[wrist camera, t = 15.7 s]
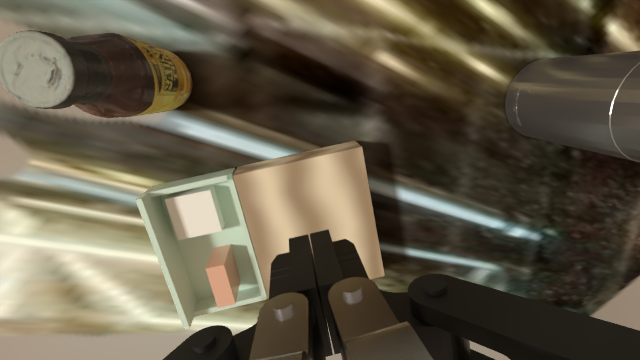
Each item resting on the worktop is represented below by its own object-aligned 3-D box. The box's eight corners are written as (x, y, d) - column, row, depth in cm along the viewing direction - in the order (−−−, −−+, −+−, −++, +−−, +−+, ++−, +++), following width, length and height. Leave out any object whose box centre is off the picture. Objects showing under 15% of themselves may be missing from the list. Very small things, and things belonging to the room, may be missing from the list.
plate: (354, 140, 42) (362, 146, 38) (376, 259, 46) (384, 275, 42) (237, 166, 41) (232, 175, 37) (270, 284, 46) (269, 303, 42)
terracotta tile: (223, 264, 38) (205, 268, 38) (235, 304, 40) (217, 307, 39) (230, 244, 43) (214, 247, 43) (240, 279, 44) (224, 283, 44)
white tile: (164, 199, 39) (169, 193, 41) (178, 240, 40) (182, 233, 42) (209, 189, 39) (213, 184, 41) (221, 231, 40) (224, 224, 42)
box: (235, 167, 41) (228, 178, 36) (268, 285, 46) (266, 309, 41) (152, 185, 41) (135, 199, 36) (194, 302, 45) (184, 329, 40)
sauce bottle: (207, 87, 38) (133, 94, 19) (162, 121, 39) (46, 160, 20) (165, 34, 37) (38, -17, 18) (118, 70, 37) (-54, 59, 18)
